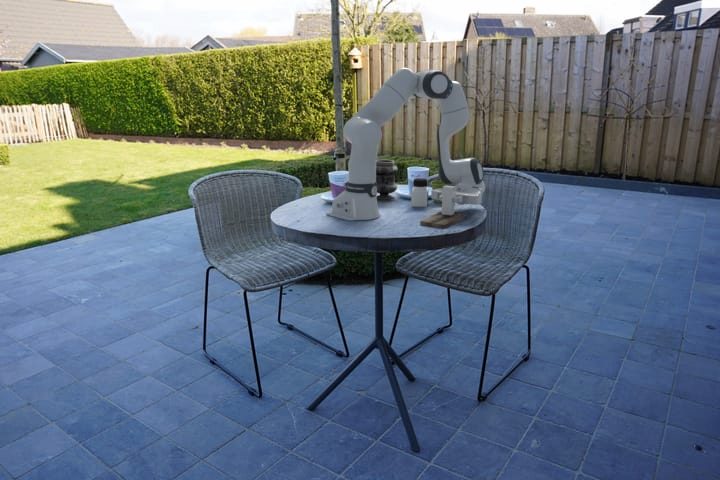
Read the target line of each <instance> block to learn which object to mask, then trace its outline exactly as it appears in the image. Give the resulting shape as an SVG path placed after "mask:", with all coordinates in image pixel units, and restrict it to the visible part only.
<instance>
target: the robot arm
mask: <svg viewBox="0 0 720 480" xmlns="http://www.w3.org/2000/svg"><path fill="white" fill-rule="evenodd" d="M412 96H414V97H416V98H419V99H425V100H436V102H437V103H438V106H439V110H440V111H439V112H440V115H441V116H440V117H441V119H440V120H441V121H440V124H439V125H438V127H437V129H436V141H437V142H436V143H437V155H438V156H437V157H438V169H437V170H438V171H437V172H438V173H437V175H438V178H439V181H442V182H444V183H445V184H451V185H452V184H455V185H454V186H455V197H454V198H452V200H453V201H452V202H453V203H455V204H456V205H460V206H462V205H463V206H464V205H473V206H474V205H480V204H482V201H483V195H484V193H485V190H486V184H485V182H484V168H483V165H482V163H481V162H480V160H478V159H477V158H475V157H468V158H467V157H466V158H461V159H460V158H459V159H454V160H452V158H451V153H450V152H451V151H450V140H451V138H452V137H453V136H454V135H455V134H457V133H459V132H460V131H461V130H463V129H464V128H465V127H466V126H467V124H468V123H469V121H470V109H469V105H468V101H467V98H466V94H465V92H464V88H463V87H462V84H461V83H460V82H458V81H456V80H451V79H450V78H449V76H448V75H447V73H446V72H444V71H442V70H440V69H425V70H420V71H416V72H414V71H413V70H412V69H410V68H408V67H401V68H399V69H397V70H396V71H395V72H394V73H393V74H392V75H391V76H390V77H389V78H388V79H386V81H385V82H384V83H383V84H382V86H381V87H380V88H379V89H378V90H377V92H376V93H375V94H374V95H373V97H372V98H371V99H370V100H369V101H367V103H365V104H364V105H363V106H362V107H361V108H360V109H359V110H358V111H357V112H356V113H354V115H353V116H352V117H351V118H350V119H348V120H347V121H346V123H345V124H344V127H343V135H344V137H345V139H346V141H347V142H348V143H350V144H351V148H350V156H349V159H348V162H347V163H348V164H347V165H348V167H347V168H348V169H347V170H348V172H347V174H348V178H347V179H348V181H347V182H345V183H343V185H342V186H343V187H345V189H344V190H343V191H342V192H341V193H340V194H339V195H337V196H336V197H335V198H334V199H333V200H332V205H331V209H328V210H327V211H326V215H328V216H331V217H334V218H338V219H340V220H341V219H342V220H345V221H349V222H351V221H364V220H365V221H367V220H368V221H369V220H374V219H378V218H379V217H380V216H381V213H380V210H379V206H378V200H377V196H378V195H377V194H378V193H377V181H376V160H378V159H377V158H378V154H379V149H380V143H381V142H382V138H383V131H382V127H383V126H384V125H386V124H387V123H388V122H389V121H391V120H393V118H394V117H395V116H396V115H397V114H398V112H400V110H401V109H402V108H403V106H404V105H405V104H406V103H407V102H408V100H409V99H410V98H411V97H412ZM456 183H457V184H456ZM442 192H443V188H439V189H435V190H432V189H431V192H430V198H431V199H432V200H433V199H436V200H440V201H442Z"/></svg>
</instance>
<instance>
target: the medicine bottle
mask: <svg viewBox="0 0 720 480" xmlns="http://www.w3.org/2000/svg"><path fill="white" fill-rule="evenodd" d="M412 183H413V187H412V189H411V201H410V204H411V205H410V206H411V207H412V208H413V207H414V208H416V207H417V208H427V207H428V206H429V188H428V179H427V178H425V177H416V178H414V179H413V182H412Z"/></svg>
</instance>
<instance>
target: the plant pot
mask: <svg viewBox="0 0 720 480" xmlns="http://www.w3.org/2000/svg"><path fill="white" fill-rule="evenodd" d="M430 184H431V185H430V186H431V191H432V190H435V189H439V188H443V186H452V184H445V183H444V182H442V181H441V180H434V181H431V182H430ZM432 200H433V202H436V203H441V202H442V201H440V200H436V199H432ZM441 204H442V203H441Z"/></svg>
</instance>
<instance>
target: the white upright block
mask: <svg viewBox="0 0 720 480" xmlns="http://www.w3.org/2000/svg"><path fill="white" fill-rule="evenodd" d="M454 197H455V185H454V186H453V185H450V186H443V192H442V203H441V212H442V214H444V215H453V214H454V213H455V204H456V203H453V202H452V201H453V200H452V198H454Z"/></svg>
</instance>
